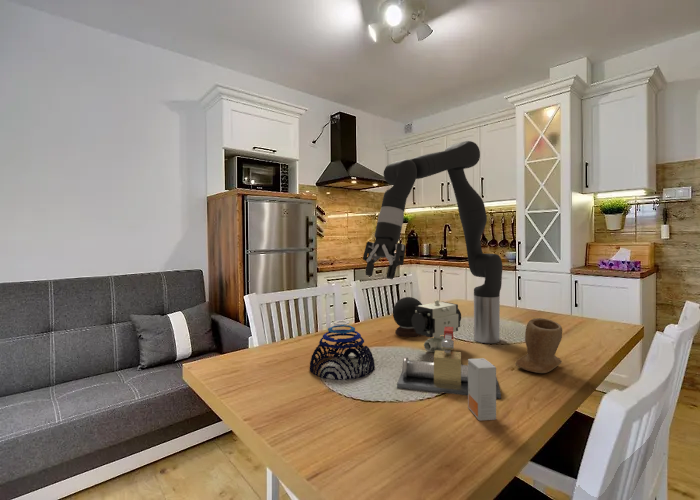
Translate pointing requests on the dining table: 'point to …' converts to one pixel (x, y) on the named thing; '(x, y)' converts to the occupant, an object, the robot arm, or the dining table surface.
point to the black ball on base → (405, 316)
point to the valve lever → (448, 339)
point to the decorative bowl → (336, 346)
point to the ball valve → (435, 322)
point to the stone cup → (541, 346)
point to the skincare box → (482, 389)
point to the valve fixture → (438, 374)
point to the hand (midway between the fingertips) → (378, 277)
